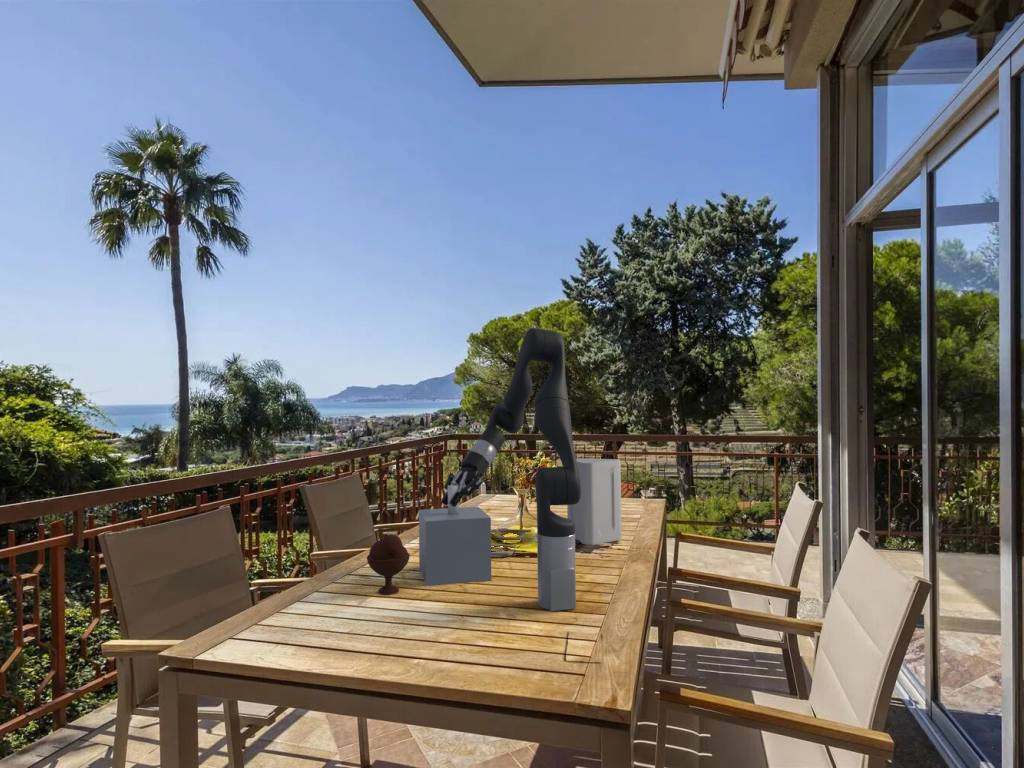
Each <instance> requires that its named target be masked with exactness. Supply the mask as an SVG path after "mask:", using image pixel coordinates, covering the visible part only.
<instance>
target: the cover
mask: <svg viewBox="0 0 1024 768" xmlns="http://www.w3.org/2000/svg"><path fill="white" fill-rule="evenodd" d="M458 489H459V485H458V484H457V485H448V505H447V508H445V507H444V508H432V509H431V508H430V509H418V552H419V553H418V554H419V555H418V559H419V560H418V565H419V566H418V568H419V572H420V574H421V576H422V579H423V580H424V582H423V583H424V584H425V586H426V587H430V586H439V585H440V586H443V585H453V584H465V583H476V582H487V581H492V558H491V543H492V532H491V530H492V521H491V520H492V517H491V516H490V515H488V514H487V513H486V512H485V511H484V510H482V509H481V507H480V506H466V507H465V506H463V507H460V502H459V503H458V504H457V505H456V506H455V507H453V506H452V505H451V504H450V500H451V499H452V497H453V496H454V494H455V493H456V492H457V491H458Z"/></svg>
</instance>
